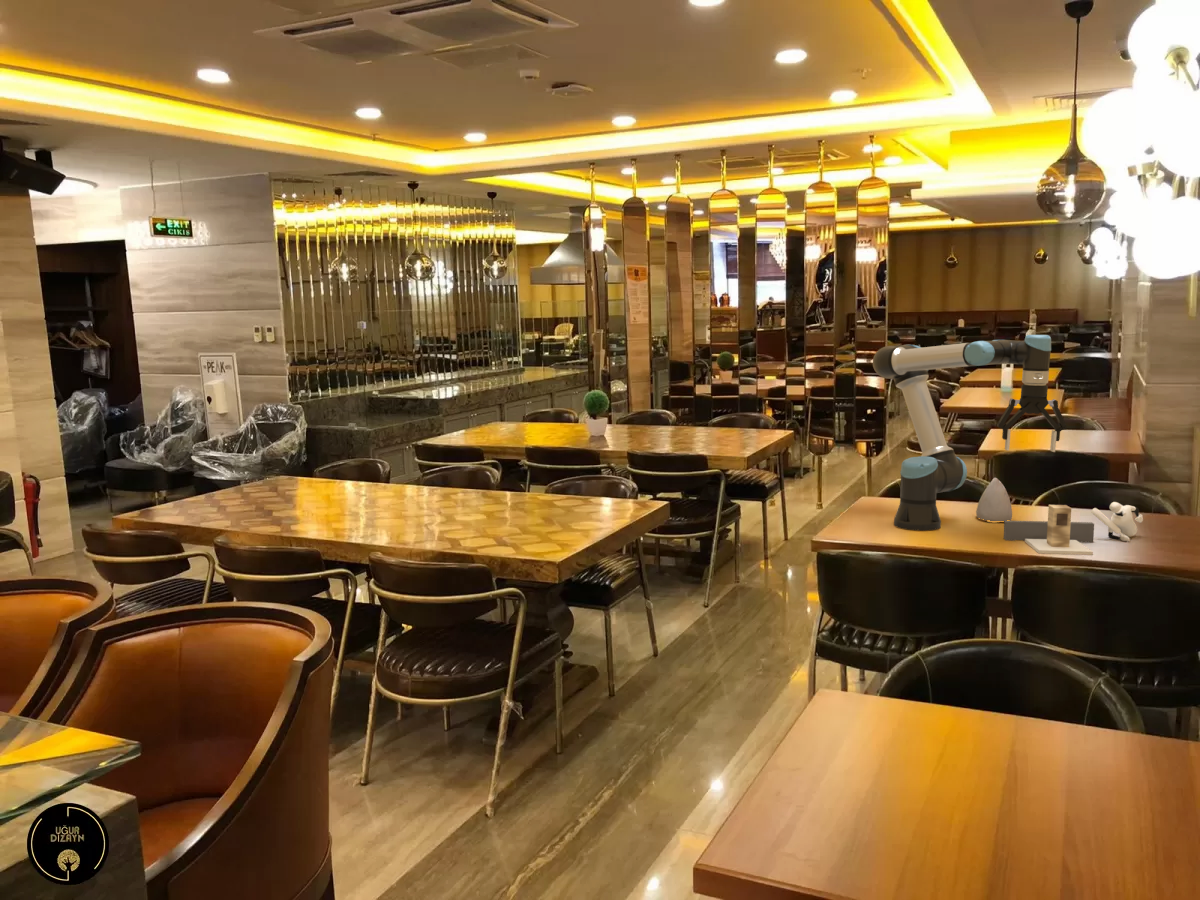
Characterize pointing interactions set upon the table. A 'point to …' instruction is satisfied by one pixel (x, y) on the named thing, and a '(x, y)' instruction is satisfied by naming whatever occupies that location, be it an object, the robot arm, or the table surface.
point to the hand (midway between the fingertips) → (1029, 450)
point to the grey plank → (1045, 530)
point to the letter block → (1059, 525)
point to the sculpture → (994, 503)
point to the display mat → (1045, 548)
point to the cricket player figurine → (1120, 520)
